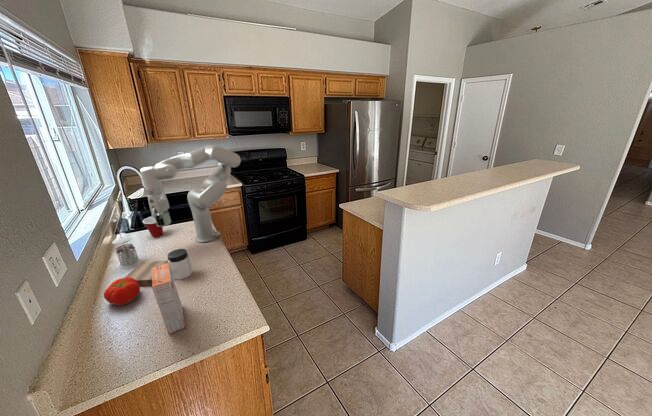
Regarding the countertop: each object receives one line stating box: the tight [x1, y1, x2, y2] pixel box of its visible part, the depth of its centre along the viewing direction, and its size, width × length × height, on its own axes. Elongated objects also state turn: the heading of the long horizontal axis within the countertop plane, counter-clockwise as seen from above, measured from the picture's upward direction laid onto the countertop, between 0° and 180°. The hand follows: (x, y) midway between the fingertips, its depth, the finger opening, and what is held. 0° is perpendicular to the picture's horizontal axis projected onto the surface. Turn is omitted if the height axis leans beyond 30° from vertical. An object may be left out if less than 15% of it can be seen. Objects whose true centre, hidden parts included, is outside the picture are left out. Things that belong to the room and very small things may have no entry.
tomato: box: [103, 276, 141, 306], centre depth 109 cm, size 13×12×8 cm
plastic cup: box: [142, 215, 164, 239], centre depth 164 cm, size 11×11×12 cm
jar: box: [167, 248, 193, 280], centre depth 124 cm, size 9×8×12 cm
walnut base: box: [123, 259, 169, 287], centre depth 126 cm, size 16×16×3 cm
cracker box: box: [151, 263, 186, 335], centre depth 95 cm, size 14×6×21 cm, turn 32°
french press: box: [111, 219, 142, 269], centre depth 132 cm, size 10×12×25 cm
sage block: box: [155, 211, 172, 227], centre depth 140 cm, size 5×5×6 cm
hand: (163, 222), depth 140 cm, fingers closed on sage block, 5 cm apart
